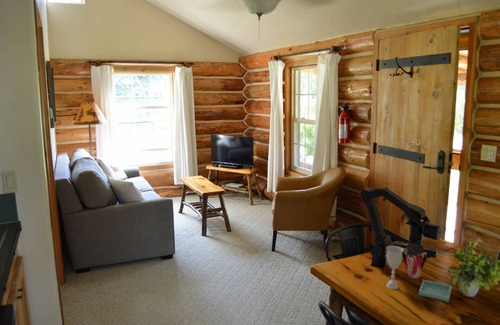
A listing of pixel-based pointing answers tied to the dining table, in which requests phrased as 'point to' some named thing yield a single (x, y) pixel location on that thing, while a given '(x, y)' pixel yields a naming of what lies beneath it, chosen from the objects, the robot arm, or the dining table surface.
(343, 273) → the dining table surface
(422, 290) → the teal tray
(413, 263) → the soda can
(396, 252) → the chalice
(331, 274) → the dining table surface
